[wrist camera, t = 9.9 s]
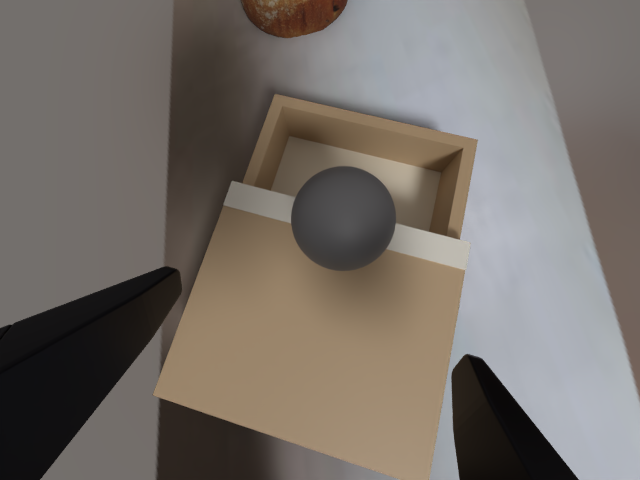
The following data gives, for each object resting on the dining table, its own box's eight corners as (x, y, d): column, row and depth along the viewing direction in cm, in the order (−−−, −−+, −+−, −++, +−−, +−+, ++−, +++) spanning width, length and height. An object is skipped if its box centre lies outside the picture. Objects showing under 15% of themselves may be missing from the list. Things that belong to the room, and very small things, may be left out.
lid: (423, 480, 13) (519, 664, 7) (159, 391, 15) (15, 470, 8) (465, 238, 16) (567, 194, 9) (237, 179, 17) (179, 102, 10)
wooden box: (420, 318, 19) (444, 323, 15) (236, 265, 20) (214, 258, 16) (450, 168, 22) (477, 139, 18) (283, 129, 23) (274, 93, 19)
